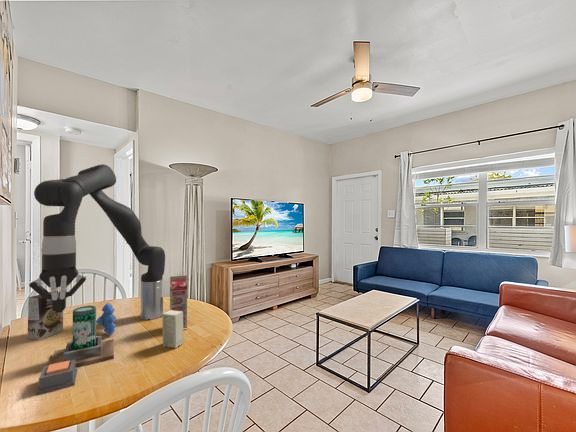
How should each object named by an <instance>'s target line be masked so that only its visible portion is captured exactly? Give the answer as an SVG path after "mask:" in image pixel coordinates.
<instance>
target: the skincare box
mask: <svg viewBox="0 0 576 432" xmlns="http://www.w3.org/2000/svg"><path fill="white" fill-rule="evenodd" d="M161 317H162V346H163V345H164V346H163V347H165V346H169V347H168V348H170V347H177V348H179V347H180V346H182V345H183V344H184V343H185V341H184V330H183V311H175V310H170V309H169V310H167V311H164V312H163V313H162V316H161ZM182 343H183V344H182ZM181 344H182V345H181ZM179 345H180V346H179ZM178 346H179V347H178Z"/></svg>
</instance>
